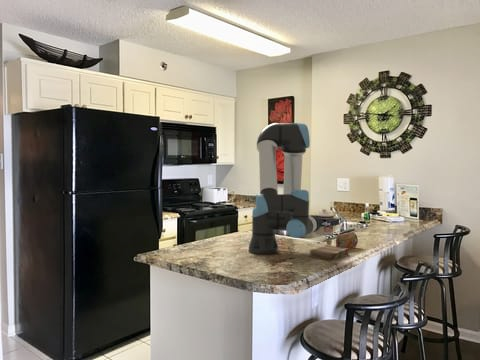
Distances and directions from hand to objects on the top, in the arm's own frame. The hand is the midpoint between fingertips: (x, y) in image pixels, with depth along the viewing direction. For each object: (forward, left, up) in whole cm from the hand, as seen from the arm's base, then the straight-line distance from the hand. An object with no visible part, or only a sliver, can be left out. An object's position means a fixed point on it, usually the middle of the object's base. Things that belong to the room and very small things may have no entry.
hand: (328, 218), depth 188 cm
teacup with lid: (+3, -3, -7) cm, 8 cm away
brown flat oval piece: (-11, +15, -18) cm, 26 cm away
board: (+1, 0, -18) cm, 18 cm away
